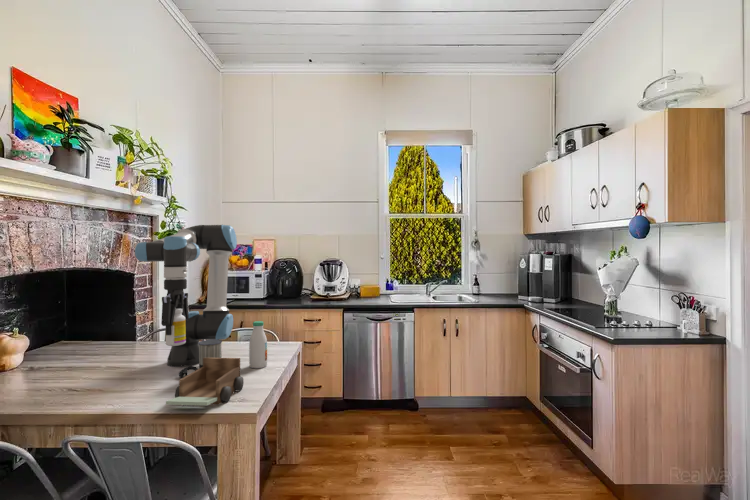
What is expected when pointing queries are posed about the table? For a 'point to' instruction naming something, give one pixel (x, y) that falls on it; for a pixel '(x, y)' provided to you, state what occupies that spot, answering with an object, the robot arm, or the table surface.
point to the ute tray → (212, 380)
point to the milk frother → (205, 354)
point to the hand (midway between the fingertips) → (175, 341)
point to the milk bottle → (258, 346)
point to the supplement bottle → (179, 328)
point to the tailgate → (191, 401)
